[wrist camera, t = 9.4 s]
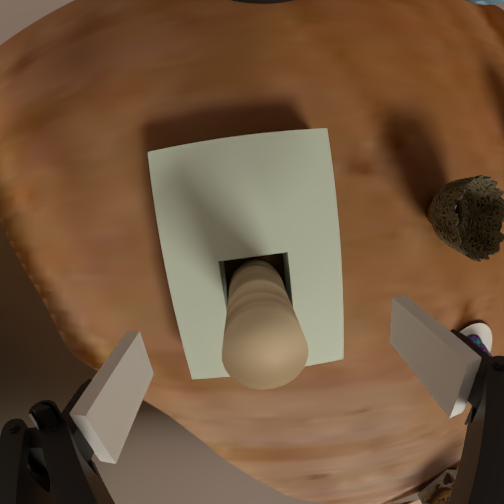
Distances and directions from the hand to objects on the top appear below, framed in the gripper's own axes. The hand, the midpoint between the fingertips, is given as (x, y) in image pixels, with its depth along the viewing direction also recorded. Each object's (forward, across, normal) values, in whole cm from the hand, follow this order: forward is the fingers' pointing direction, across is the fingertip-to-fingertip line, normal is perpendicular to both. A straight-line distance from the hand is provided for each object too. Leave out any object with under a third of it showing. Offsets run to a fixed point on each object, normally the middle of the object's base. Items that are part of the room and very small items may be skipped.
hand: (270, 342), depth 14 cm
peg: (+13, 0, -1) cm, 13 cm away
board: (+14, 0, +1) cm, 14 cm away
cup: (+14, +20, +3) cm, 24 cm away
